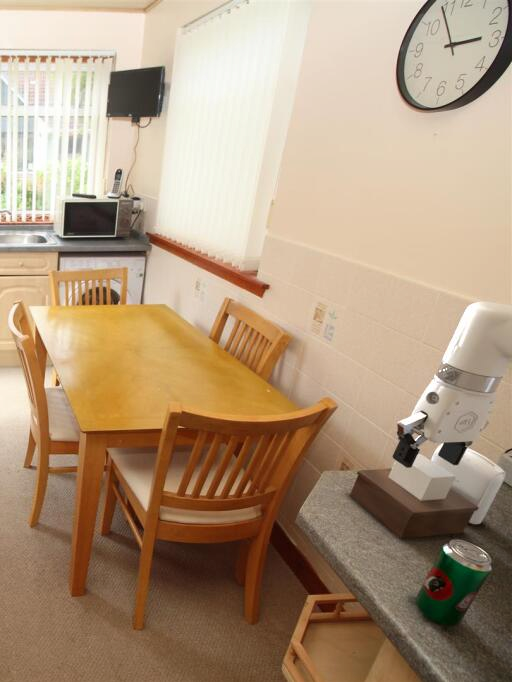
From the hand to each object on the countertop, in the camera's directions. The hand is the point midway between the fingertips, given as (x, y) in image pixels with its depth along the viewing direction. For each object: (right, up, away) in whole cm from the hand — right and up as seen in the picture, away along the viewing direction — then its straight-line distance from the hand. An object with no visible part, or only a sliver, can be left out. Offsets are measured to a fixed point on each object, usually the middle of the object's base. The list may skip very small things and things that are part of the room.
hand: (424, 461), depth 85 cm
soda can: (-12, -18, -15) cm, 27 cm away
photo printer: (+11, -10, +7) cm, 16 cm away
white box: (0, -5, +2) cm, 6 cm away
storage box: (0, -11, +4) cm, 12 cm away
